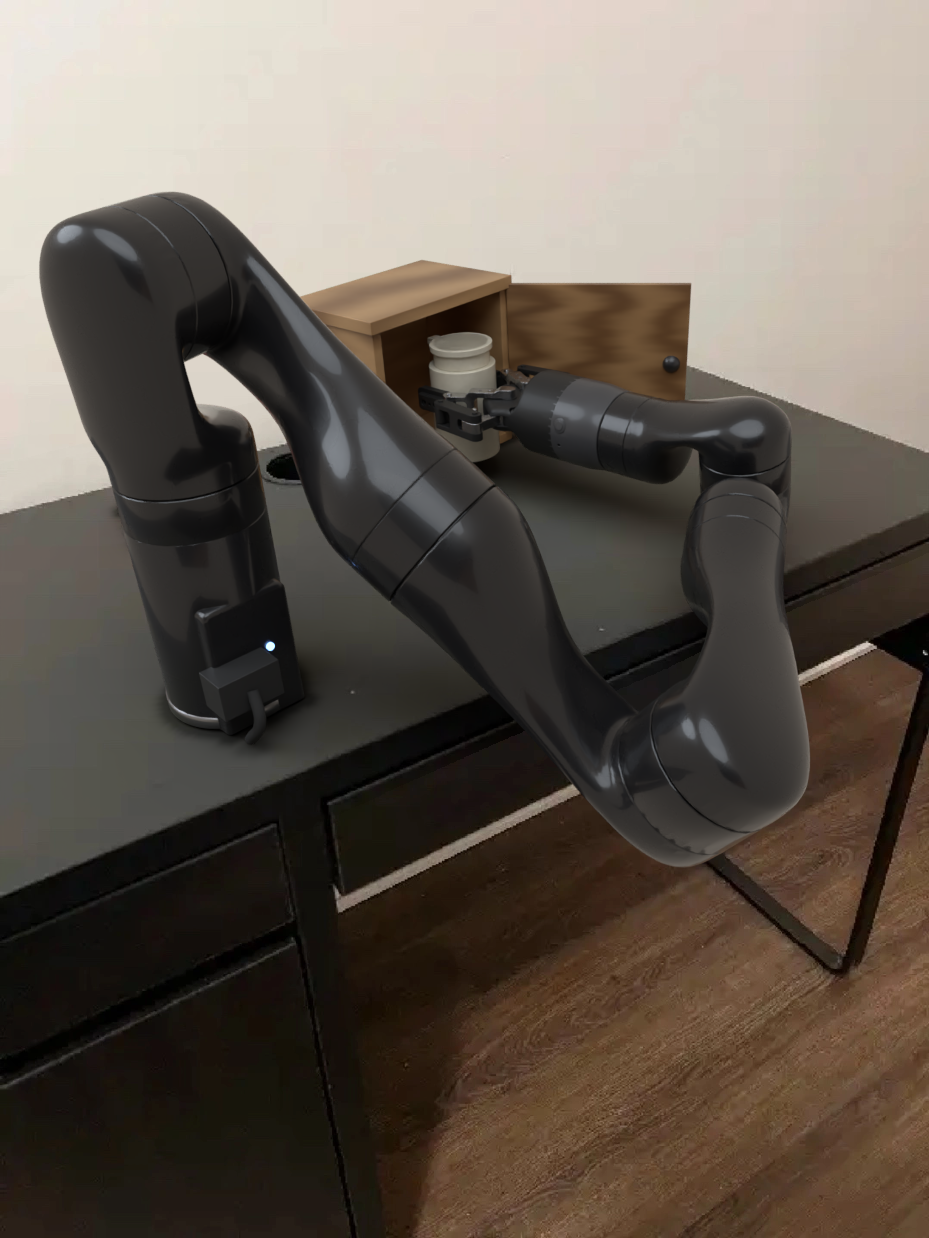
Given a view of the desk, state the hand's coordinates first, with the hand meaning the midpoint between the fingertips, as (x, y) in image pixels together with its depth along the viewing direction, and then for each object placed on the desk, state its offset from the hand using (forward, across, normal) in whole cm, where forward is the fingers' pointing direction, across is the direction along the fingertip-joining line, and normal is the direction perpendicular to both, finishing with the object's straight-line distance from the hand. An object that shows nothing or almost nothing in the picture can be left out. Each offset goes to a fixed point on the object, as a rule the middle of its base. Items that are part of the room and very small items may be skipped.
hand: (447, 386), depth 101 cm
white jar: (-2, 0, -6) cm, 7 cm away
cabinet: (-2, +4, -8) cm, 10 cm away
